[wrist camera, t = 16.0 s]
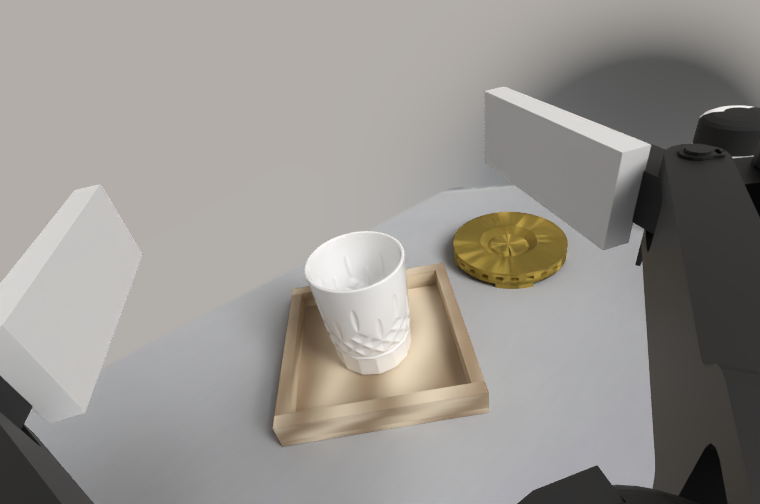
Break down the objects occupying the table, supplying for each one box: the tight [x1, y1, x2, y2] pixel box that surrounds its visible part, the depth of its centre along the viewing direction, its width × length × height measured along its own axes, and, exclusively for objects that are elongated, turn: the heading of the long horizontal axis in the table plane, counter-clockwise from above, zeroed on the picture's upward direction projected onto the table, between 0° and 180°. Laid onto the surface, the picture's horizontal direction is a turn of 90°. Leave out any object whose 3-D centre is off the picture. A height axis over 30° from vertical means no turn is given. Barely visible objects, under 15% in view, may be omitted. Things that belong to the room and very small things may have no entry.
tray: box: [273, 263, 489, 447], centre depth 38 cm, size 16×16×2 cm
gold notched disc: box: [453, 212, 568, 289], centre depth 47 cm, size 12×12×2 cm
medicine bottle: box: [692, 106, 760, 158], centre depth 43 cm, size 7×7×12 cm
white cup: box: [304, 231, 411, 375], centre depth 35 cm, size 8×8×10 cm
